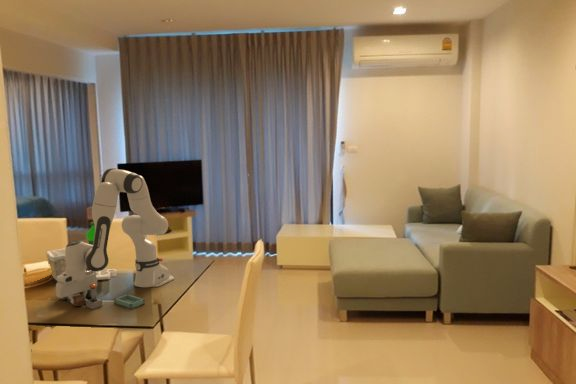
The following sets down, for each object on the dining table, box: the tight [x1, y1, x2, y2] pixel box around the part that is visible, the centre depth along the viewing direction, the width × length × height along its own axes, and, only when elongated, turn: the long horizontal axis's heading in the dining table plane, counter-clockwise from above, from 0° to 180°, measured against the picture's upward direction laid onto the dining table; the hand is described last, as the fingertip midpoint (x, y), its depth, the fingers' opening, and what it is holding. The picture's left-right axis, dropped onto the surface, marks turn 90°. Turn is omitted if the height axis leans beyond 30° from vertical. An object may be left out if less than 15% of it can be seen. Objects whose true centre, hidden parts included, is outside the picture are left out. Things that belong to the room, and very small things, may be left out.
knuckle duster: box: [96, 268, 117, 281], centre depth 281 cm, size 3×18×15 cm
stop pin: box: [89, 283, 98, 302], centre depth 236 cm, size 3×3×11 cm
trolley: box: [57, 257, 103, 310], centre depth 242 cm, size 12×27×21 cm, turn 55°
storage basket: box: [46, 247, 87, 281], centre depth 285 cm, size 24×16×15 cm
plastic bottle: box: [85, 221, 95, 245], centre depth 314 cm, size 10×10×25 cm
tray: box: [114, 293, 145, 310], centre depth 239 cm, size 8×13×2 cm, turn 55°
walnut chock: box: [71, 294, 85, 307], centre depth 236 cm, size 4×4×4 cm
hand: (78, 301), depth 236 cm, fingers closed on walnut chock, 4 cm apart
